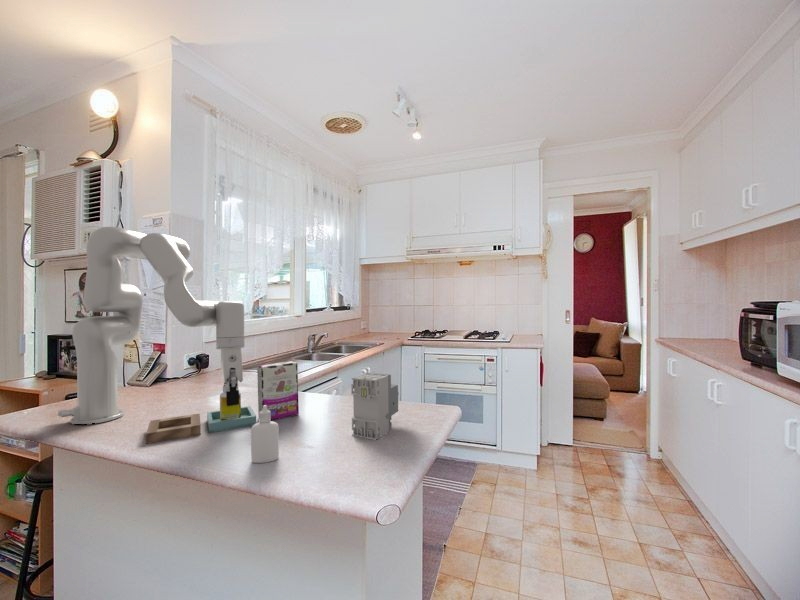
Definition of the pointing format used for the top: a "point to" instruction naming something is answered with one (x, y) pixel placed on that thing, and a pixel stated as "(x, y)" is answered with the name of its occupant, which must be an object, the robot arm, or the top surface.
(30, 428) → the top surface
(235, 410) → the supplement bottle
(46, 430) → the top surface
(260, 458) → the eye dropper bottle
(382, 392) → the circuit breaker
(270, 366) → the candy bar box
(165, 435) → the brown rectangular holder box
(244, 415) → the tray
